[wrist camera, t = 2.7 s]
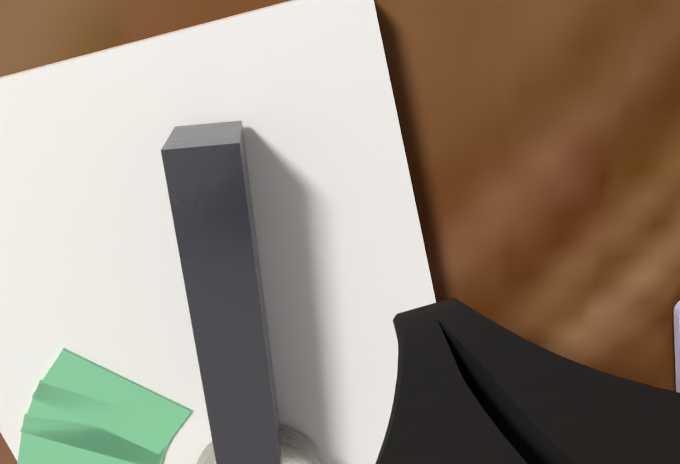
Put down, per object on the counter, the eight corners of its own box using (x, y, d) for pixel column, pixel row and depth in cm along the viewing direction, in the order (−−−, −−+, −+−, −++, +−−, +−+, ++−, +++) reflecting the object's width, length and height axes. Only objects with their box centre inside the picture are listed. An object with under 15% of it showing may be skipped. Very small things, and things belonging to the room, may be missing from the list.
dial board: (359, -18, 16) (370, -20, 14) (498, 632, 26) (512, 671, 24) (-140, 114, 15) (-181, 126, 14) (196, 723, 25) (193, 768, 24)
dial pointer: (328, 514, 20) (342, 612, 17) (204, 533, 19) (194, 637, 16) (290, 115, 15) (300, 147, 12) (124, 130, 15) (89, 167, 12)
